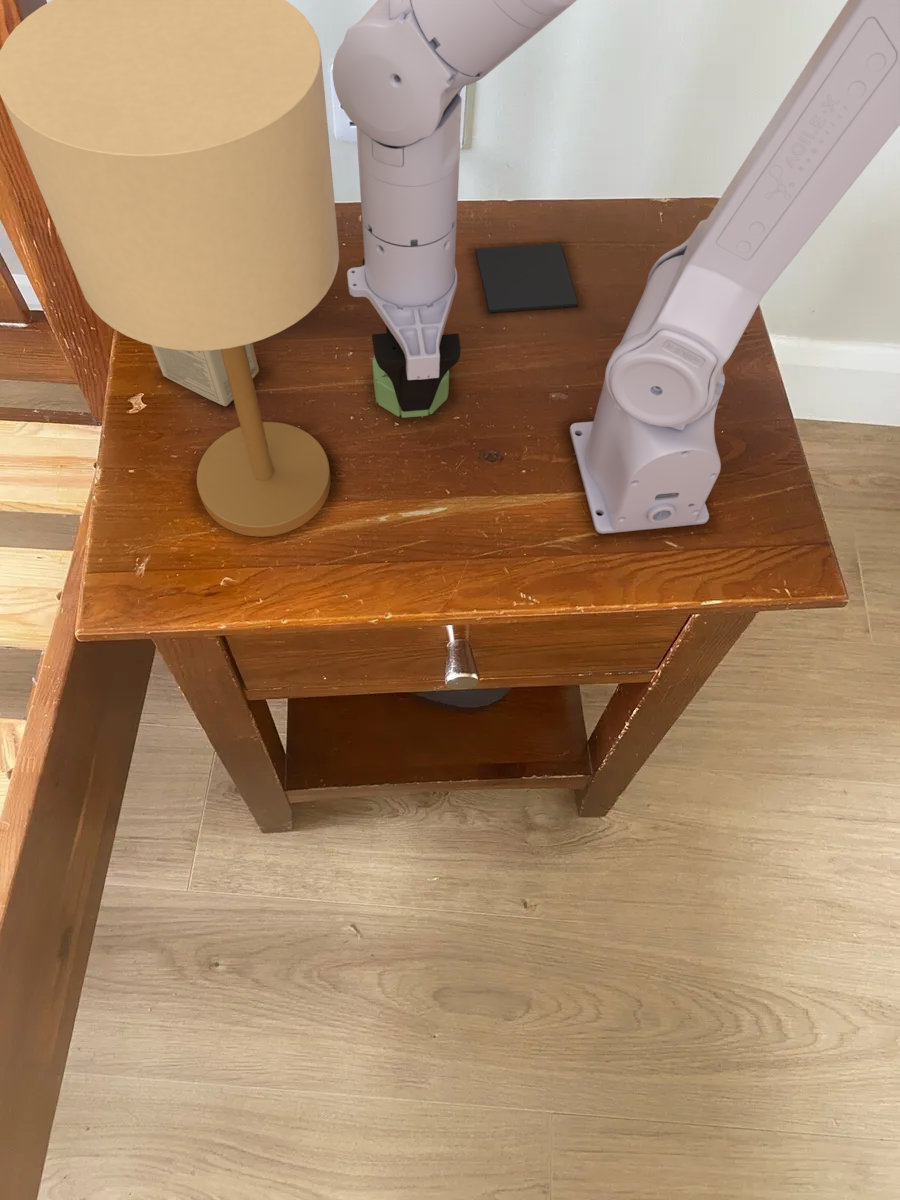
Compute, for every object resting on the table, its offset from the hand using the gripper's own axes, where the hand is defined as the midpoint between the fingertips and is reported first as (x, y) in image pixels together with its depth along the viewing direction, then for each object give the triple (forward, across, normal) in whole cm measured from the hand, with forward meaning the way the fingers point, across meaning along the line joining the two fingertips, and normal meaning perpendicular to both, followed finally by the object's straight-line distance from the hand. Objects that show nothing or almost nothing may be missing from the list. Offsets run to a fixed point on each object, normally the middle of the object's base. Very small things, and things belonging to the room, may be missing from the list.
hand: (410, 375), depth 65 cm
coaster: (+1, -11, +11) cm, 15 cm away
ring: (+1, 0, 0) cm, 1 cm away
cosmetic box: (+2, -3, -15) cm, 15 cm away
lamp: (+1, +8, -11) cm, 13 cm away
